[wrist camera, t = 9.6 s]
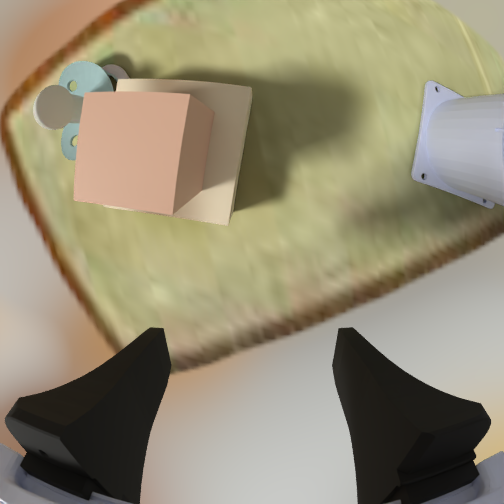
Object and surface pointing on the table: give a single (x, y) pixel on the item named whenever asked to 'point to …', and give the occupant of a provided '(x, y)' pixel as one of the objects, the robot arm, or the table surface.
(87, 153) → the terracotta block
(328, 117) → the table surface
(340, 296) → the table surface
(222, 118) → the birch block
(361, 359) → the robot arm
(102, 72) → the pacifier
